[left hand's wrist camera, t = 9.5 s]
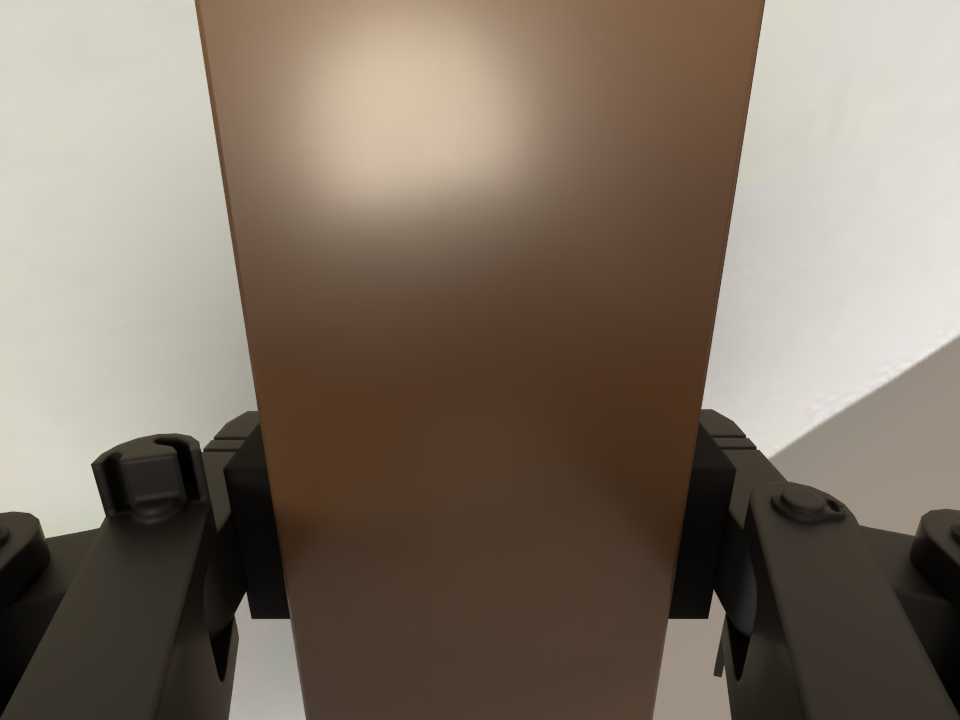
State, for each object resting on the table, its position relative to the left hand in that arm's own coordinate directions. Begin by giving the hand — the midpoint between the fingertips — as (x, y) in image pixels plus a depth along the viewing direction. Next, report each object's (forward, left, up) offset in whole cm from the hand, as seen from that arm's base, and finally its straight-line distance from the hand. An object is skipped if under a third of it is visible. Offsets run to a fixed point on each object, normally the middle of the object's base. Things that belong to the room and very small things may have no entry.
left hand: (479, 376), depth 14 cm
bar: (+13, +14, -1) cm, 20 cm away
